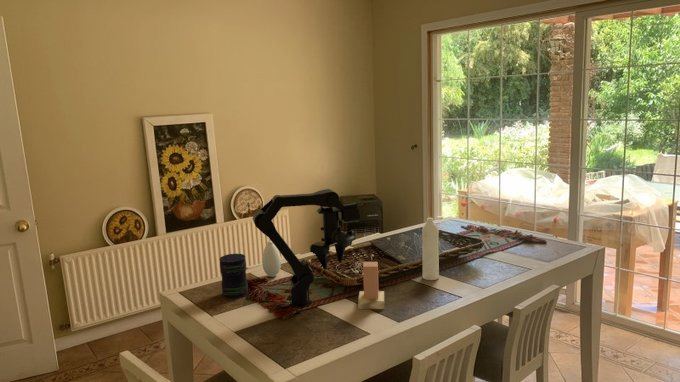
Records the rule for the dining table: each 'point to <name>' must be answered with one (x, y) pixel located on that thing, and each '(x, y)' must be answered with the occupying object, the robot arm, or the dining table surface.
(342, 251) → the robot arm
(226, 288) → the storage jar
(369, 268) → the terracotta post
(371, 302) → the birch plinth
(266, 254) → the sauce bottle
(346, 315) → the dining table surface
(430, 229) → the water bottle
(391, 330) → the dining table surface
